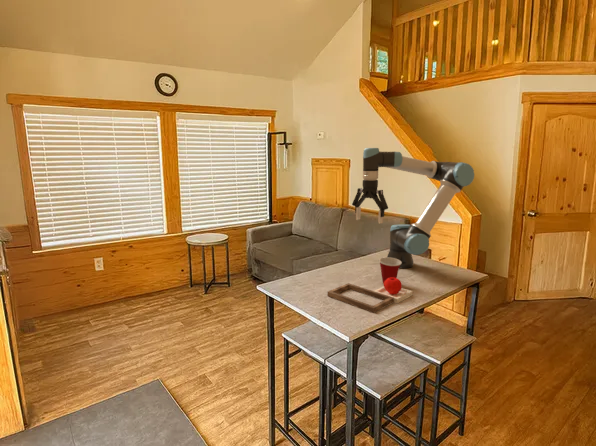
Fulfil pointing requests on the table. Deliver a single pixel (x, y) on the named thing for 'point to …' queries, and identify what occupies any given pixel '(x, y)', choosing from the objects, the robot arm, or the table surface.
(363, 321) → the table surface
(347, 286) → the pocket frame
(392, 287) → the apple
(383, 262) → the plastic cup
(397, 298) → the dish
